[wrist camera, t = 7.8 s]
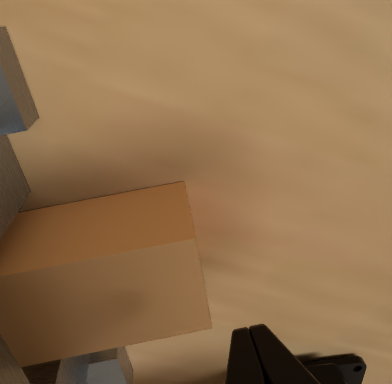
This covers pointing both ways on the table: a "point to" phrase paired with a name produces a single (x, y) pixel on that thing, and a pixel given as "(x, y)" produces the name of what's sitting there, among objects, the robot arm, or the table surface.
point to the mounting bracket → (3, 216)
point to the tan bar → (101, 275)
